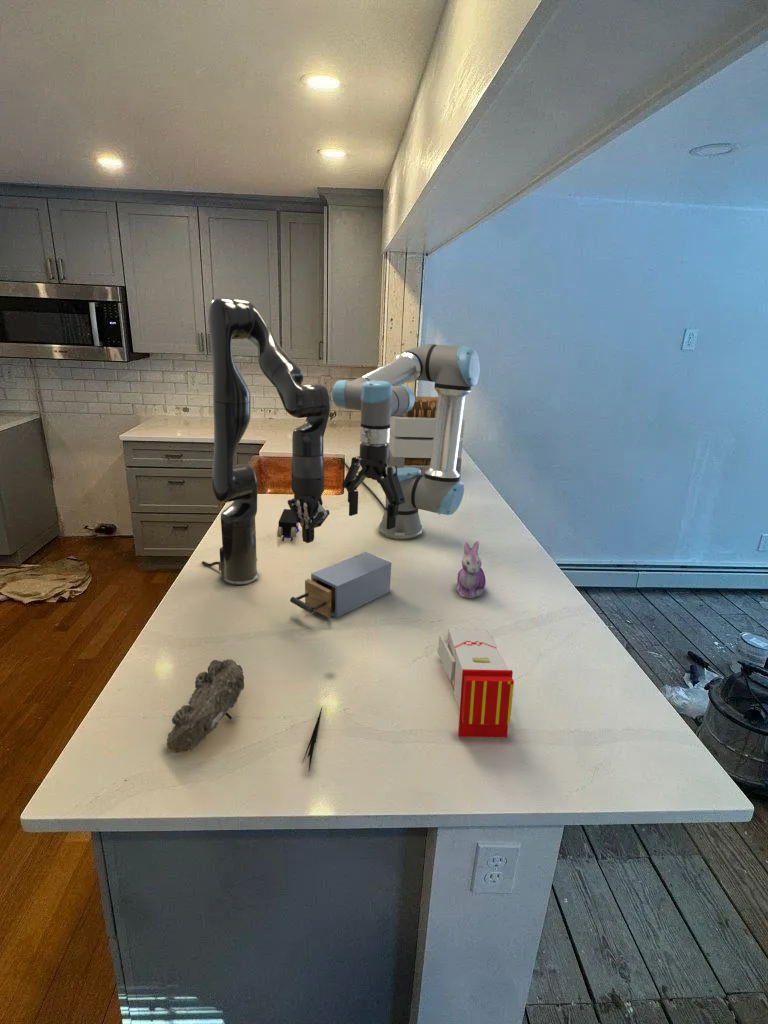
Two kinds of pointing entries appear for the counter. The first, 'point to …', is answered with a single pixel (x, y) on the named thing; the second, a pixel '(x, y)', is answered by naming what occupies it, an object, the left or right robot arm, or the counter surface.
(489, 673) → the toy
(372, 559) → the cabinet
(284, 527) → the figurine character
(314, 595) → the drawer
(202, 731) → the fossil
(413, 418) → the white slatted crate
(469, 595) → the figurine
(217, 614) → the counter surface
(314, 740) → the feather
